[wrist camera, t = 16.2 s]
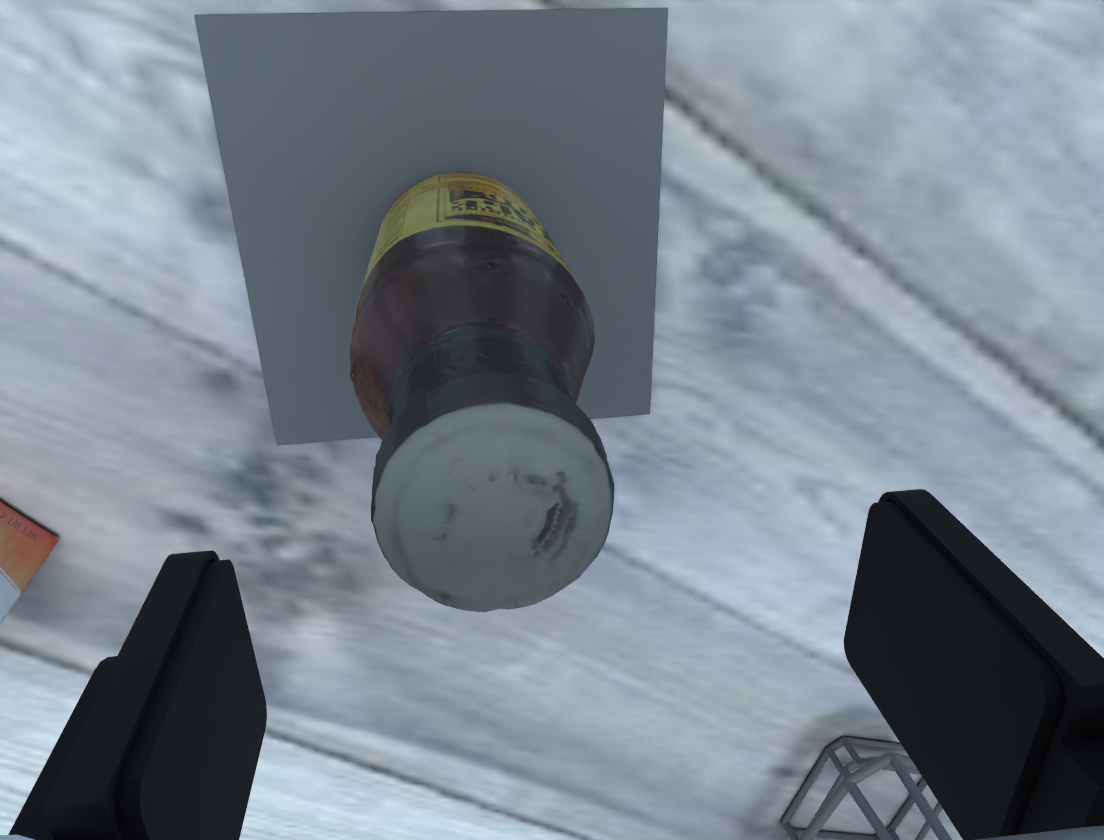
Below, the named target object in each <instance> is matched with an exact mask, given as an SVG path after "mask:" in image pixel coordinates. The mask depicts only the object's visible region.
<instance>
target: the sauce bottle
mask: <svg viewBox="0 0 1104 840" xmlns="http://www.w3.org/2000/svg"><path fill="white" fill-rule="evenodd" d="M594 342H595V334H594V323H593V317H592V314H591V310H590V307H589V304H588V302H587V300H586V297H585V295H584V293H583V291H582V289H581V287H580V286H579V284H578V283H577V281H576V279H575V277H574V275H573V273H572V272H571V270H570V269H569V268H568V265H567V264H566V262H565V261H564V260H563V257H562V256H561V255H560V253H559V252H558V250H557V248H556V247H555V245H554V244H553V242H552V240H551V239H550V237H549V236H548V233H547V232H546V231H545V230H544V228H543V227H542V225H541V224H540V222H539V221H538V219H537V218H536V216H535V215H534V213H533V212H532V210H531V209H530V207H529V206H528V205H527V204H526V203H525V201H524V200H523V199H522V198H521V197H520V196H519V195H518V194H516V193H515V192H514V191H513V190H512V189H511V188H509V187H507V186H506V185H504V184H502V183H500V182H499V181H497V180H495V179H493V178H490V177H487V176H483V175H479V174H474V173H469V172H457V173H445V174H440V175H436V176H433V177H430V178H427V179H425V180H423V181H422V182H420V183H418V184H416V185H415V186H413V187H412V188H410V189H409V190H408V191H406V192H405V193H404V194H403V195H402V196H401V197H400V198H399V199H398V200H397V201H396V202H395V203H394V204H393V205H392V207H391V208H390V210H389V211H388V213H387V215H386V216H385V218H384V219H383V221H382V223H381V227H380V230H379V234H378V237H377V240H376V244H375V247H374V250H373V254H372V257H371V260H370V263H369V266H368V270H367V273H366V276H365V279H364V282H363V286H362V289H361V292H360V296H359V299H358V303H357V309H356V316H355V325H354V327H353V332H352V340H351V348H350V363H351V370H350V380H351V381H352V382H353V387H354V390H355V394H356V397H357V399H358V401H359V403H360V406H361V409H362V412H363V413H364V414H365V416H366V418H367V420H368V422H369V423H370V425H371V426H372V428H373V429H374V431H375V432H376V433H377V435H378V436H379V437H380V438H381V439H382V443H381V447H380V450H379V451H378V453H377V455H376V465H375V468H374V476H373V486H372V503H371V521H372V523H373V526H374V529H375V534H376V538H377V541H378V544H379V546H380V548H381V551H382V553H383V555H384V557H385V558H386V560H387V561H388V563H389V564H390V566H391V568H392V569H393V570H394V571H395V573H396V574H397V575H398V576H399V577H400V578H401V579H403V580H404V581H405V582H406V583H408V584H409V585H410V586H412V587H414V588H416V589H417V590H419V591H421V592H422V593H424V594H425V595H427V596H428V597H430V598H431V599H433V600H435V601H436V602H438V603H440V604H443V605H446V606H450V607H453V608H457V609H462V610H467V611H476V612H487V611H492V610H496V609H514V608H520V607H525V606H529V605H534V604H536V603H538V602H540V601H542V600H544V599H546V598H548V597H551V596H553V595H554V594H556V593H557V592H559V591H560V590H562V589H563V588H565V587H566V586H568V585H569V584H571V583H572V582H573V581H575V580H576V579H578V578H579V577H580V576H581V575H582V573H583V572H584V571H585V570H586V569H587V567H588V566H589V565H590V564H591V563H592V562H593V560H594V559H595V558H596V557H597V556H598V554H599V552H600V550H601V548H602V547H603V545H604V543H605V541H606V538H607V535H608V532H609V527H610V522H611V518H612V513H613V501H614V482H613V478H612V475H611V471H610V468H609V464H608V462H607V456H606V453H605V450H604V447H603V444H602V441H601V438H600V437H599V435H598V434H597V432H596V430H595V427H594V425H593V424H592V422H591V420H590V419H589V418H588V417H587V416H586V414H585V413H584V412H583V411H582V410H581V409H580V408H579V407H578V405H577V404H576V403H577V400H578V396H579V393H580V389H581V386H582V383H583V379H584V377H585V374H586V371H587V369H588V366H589V363H590V360H591V358H592V355H593V349H594Z"/></svg>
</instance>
